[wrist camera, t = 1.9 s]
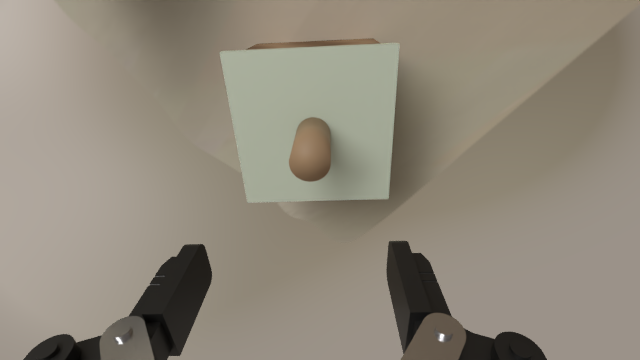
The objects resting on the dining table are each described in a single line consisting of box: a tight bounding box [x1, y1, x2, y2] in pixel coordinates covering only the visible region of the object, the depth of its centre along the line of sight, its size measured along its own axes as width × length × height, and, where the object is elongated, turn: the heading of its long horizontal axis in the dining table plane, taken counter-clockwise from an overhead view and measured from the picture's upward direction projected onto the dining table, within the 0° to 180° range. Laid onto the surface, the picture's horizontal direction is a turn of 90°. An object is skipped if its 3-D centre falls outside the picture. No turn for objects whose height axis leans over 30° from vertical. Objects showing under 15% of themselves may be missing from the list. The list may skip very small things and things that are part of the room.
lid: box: [219, 43, 400, 203], centre depth 25 cm, size 14×14×7 cm
